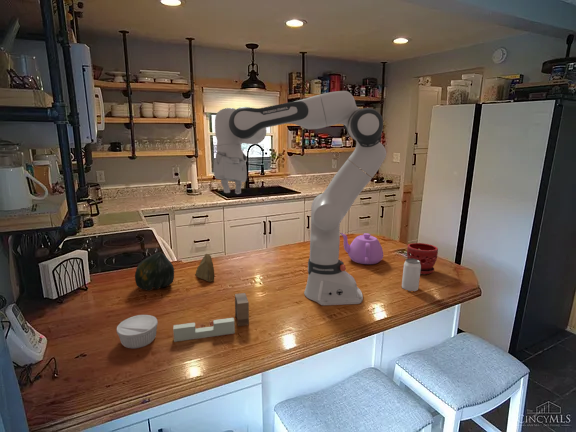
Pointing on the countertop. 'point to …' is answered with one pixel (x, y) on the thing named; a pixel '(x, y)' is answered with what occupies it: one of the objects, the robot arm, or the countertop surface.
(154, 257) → the squash
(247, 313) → the walnut block
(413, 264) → the can
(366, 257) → the teapot
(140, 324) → the ramekin
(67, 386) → the countertop surface
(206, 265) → the rock
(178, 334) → the slotted rail
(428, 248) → the plant pot
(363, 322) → the countertop surface
